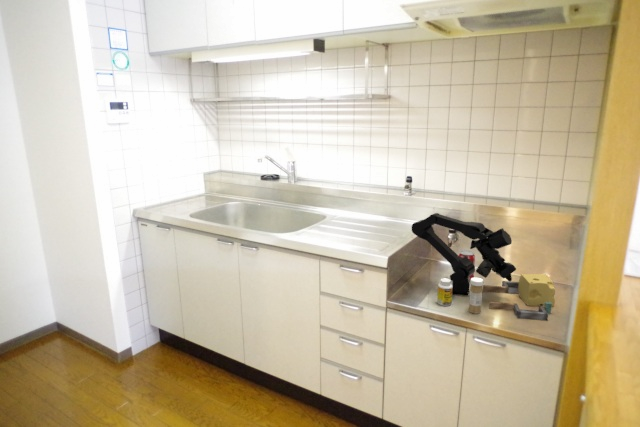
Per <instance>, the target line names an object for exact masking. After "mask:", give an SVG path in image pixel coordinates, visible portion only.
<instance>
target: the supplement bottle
mask: <svg viewBox="0 0 640 427" xmlns="http://www.w3.org/2000/svg"><path fill="white" fill-rule="evenodd" d="M437 286H438V287H437V298H436V299H437V300H436V301H437V304H438V305H440V306H442V307H443V306H444V307H448V306H451V305H452V299H453V294H452V288H453V286H452V281H451V279H450V278H444V277H443V278H442V277H441V279H440V282H439V283H438V285H437Z"/></svg>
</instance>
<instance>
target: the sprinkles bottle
mask: <svg viewBox="0 0 640 427" xmlns="http://www.w3.org/2000/svg"><path fill="white" fill-rule="evenodd" d="M469 283H470V287H469V306H468V311H469V313H471V314H476V315H477V314H481V312H482V310H481V309H482V308H481V307H482V302H483V300H482V297H483V285H484V279H483V278H480V277H475V276H474V277H473V278H471V280H470V282H469Z"/></svg>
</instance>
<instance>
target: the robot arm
mask: <svg viewBox="0 0 640 427" xmlns="http://www.w3.org/2000/svg"><path fill="white" fill-rule="evenodd" d="M434 225H437V226H441V227H444V228H447V229H451V230H453V231H456V232H459V233H461V234H462V235H463V236H465V237H466V238H469V239H471V242H470V247H469V248H470V250H473V249H475V248H476V250H477V251H478V252H479V254H481V258H482V261H481V262H480V264H479V265H478V266H477V268H476V266H474V265H473V264H472V263H473V262H472V261H470V260H469V259H468V257H466V256H465V257H463V258H462V257H460V256H459V254H457V253H456V252H455V251H454V250H453V249H452V248H451V247H450V246H449V244H446V242H445V241H444V240H442V239H441V238H440V237H439V236H438V235H437V233H436V232H435V230H434V228H433V226H434ZM411 232H412V233H413V234H414V235H415V236H417V237H418V238H420V239H422V240H423V241H424V240H425V241H426V242H427V243H429V245H431V246H432V247H433V249H435V250H436V251H437V252H438V253H439V255H441V256H442V257H443V258H444V259H445V260H446V261H447V262H448V263H449V264H450V266H451V268H452V271H453V273H452V274H450V275H449V279H450V280H451V284H452V286H453V288H452V296H453V295H454V296H466V297H467V296H469V294H470V288H471V284H470V282H469V281H468V278H469V277H470V276H471V275H472V274H473V273H474V274H475V272H476V273H477V274H478V275H480V276H482V277H484V278H487V277H488V276H489V275H490V273H491V272H494V273H495V274H496V275H498V276H499V277H500V278H502V279H506V281H511V282H513V281H512V280H513V276H512V273H514V272H516V270H517V268H516V267H515V265H514V264H513V263H511V262H506V259H505V258H504V257H502V256H501V254H500V251H499V249H502V248H504V247H507V246H509V245H511V244H512V237H511V235H510V234H509V233H508V232H507V231H506V230H505V229H504V228H502V227H501V228H500V229H498V230H496V231H492V230H491V229H489V228H488V227H486V226H485V225H484V223H482V222H477V221H463V220H461V219H460V220H459V219H456V218H453V217H449V216H447V215H443V214H440V213H438V212H435V213H432V214H430V215H429V216H428V217H426V218H424V219H421V220H418V221H415V222H413V224H412V225H411Z"/></svg>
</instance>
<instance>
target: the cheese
mask: <svg viewBox="0 0 640 427" xmlns="http://www.w3.org/2000/svg"><path fill="white" fill-rule="evenodd" d="M518 282H519V286H518V292H519V294H518V296H519V297H520V298H521V300H522V301H523V302H524V303H525V304H526V305H527V306H529V307H534V306H535V307H537V306H538V307H539V305H543V306H545V302H551V303H552V307H554V305H555V303H556V302H555V301H556V299H555V294H556V288H555V287H554V282H553V280H552V279H551V278H550V276H548V274H546V273H536V274H535V273H533V274H532V273H531V274H525V273H521V274H520V275H519V279H518ZM552 307H551V308H552Z"/></svg>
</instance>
